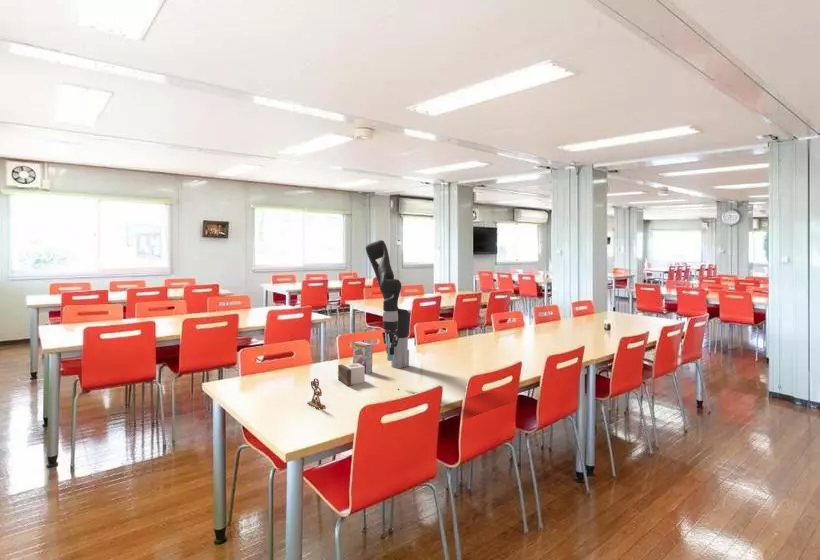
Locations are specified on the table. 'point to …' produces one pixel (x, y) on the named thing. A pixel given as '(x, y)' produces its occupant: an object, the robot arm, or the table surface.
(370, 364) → the candy bar box
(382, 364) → the table surface
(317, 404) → the brown carved figurine
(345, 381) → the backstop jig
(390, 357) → the teal dowel
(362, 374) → the socket block
